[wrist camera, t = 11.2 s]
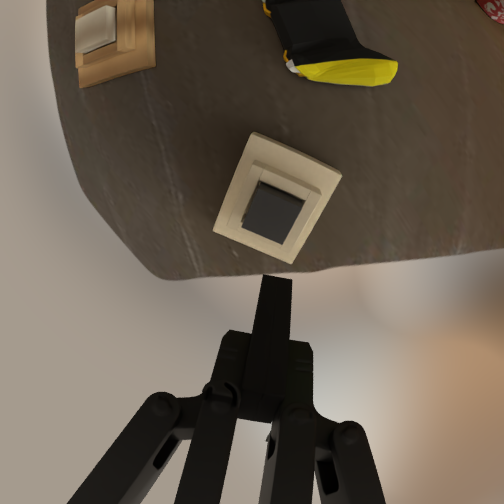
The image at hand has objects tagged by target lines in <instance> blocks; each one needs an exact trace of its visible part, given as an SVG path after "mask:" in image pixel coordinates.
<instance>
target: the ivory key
mask: <svg viewBox="0 0 504 504" xmlns="http://www.w3.org/2000/svg"><path fill="white" fill-rule="evenodd" d="M115 41H117V8H114V7H111V6H107V5H106V6H103V7H101V8H99V9H97V10H95V11H93V12H91V13H89V14H87V15H85V16H83V17H81V18H79V19H77V20H76V23H75V53H88V52H90V51H93V50H95V49H97V48H100V47H102V46H104V45H107V44H109V43H112V42H115Z"/></svg>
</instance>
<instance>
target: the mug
mask: <svg viewBox="0 0 504 504" xmlns="http://www.w3.org/2000/svg"><path fill="white" fill-rule="evenodd" d="M477 2H478V4H479V5H480V6H481V8H482V9H483V10H484V11H485V12H486V13H487V14H488V15H489V16H490V17H491V18H492V19H494V20H495V21H497V22H499V23H502V24H504V0H477Z"/></svg>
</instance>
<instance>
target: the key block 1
mask: <svg viewBox="0 0 504 504" xmlns="http://www.w3.org/2000/svg"><path fill="white" fill-rule="evenodd" d="M106 5H107V6H111V7H114V8H117V41H115V42H112V43H109V44H107V45H104V46H102V47H100V48H97V49H95V50H93V51H90V52H88V53H75V60H76V68H78V71H79V86H80V88H87V87H91V86H94V85H97V84H100V83H102V82H105V81H108V80H111V79H114V78H117V77H120V76H124V75H127V74H130V73H134V72H137V71H141V70H145V69H149V68H153V67H156V57H155V36H154V0H95V1H93V2H91V3H89V4H87V5H85V6H83V7H81V8H79V13H78V16H77V17H76V20H77V19H79V18H81V17H83V16H85V15H87V14H89V13H91V12H93V11H95V10H97V9H99V8H101V7H103V6H106Z"/></svg>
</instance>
